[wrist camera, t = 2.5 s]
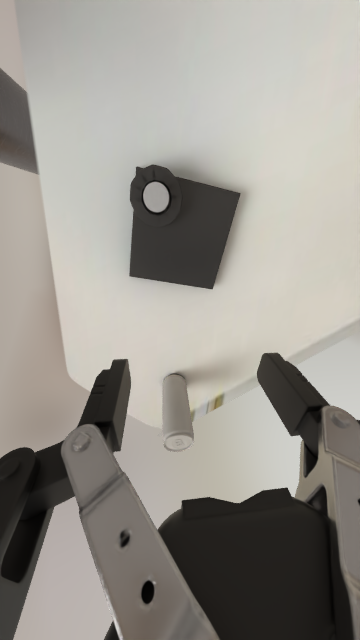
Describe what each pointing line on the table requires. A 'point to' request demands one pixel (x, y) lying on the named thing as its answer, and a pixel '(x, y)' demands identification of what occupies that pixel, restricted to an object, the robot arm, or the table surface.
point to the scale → (180, 229)
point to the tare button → (156, 197)
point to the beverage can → (176, 415)
